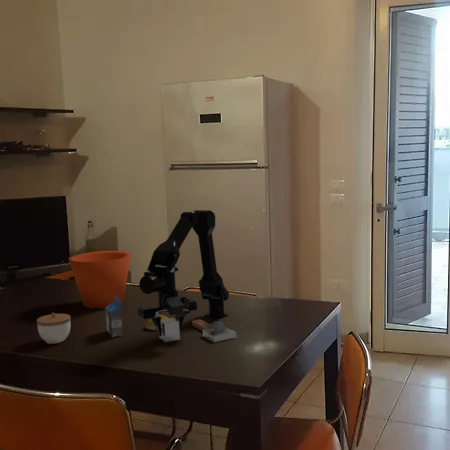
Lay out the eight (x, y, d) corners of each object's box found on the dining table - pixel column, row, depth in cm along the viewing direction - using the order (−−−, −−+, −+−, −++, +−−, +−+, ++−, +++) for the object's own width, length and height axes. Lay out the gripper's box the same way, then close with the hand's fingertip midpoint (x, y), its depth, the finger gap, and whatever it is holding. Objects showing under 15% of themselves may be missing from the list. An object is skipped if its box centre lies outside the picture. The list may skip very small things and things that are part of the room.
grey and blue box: (106, 330, 202) (103, 295, 201) (117, 329, 204) (115, 294, 202) (111, 337, 194) (109, 301, 192) (123, 335, 195) (121, 299, 194)
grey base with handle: (186, 326, 203) (185, 312, 202) (206, 322, 206) (206, 308, 206) (214, 342, 184) (213, 327, 184) (236, 338, 188) (235, 323, 187)
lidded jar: (54, 347, 186) (51, 319, 185) (31, 343, 192) (29, 315, 191) (79, 338, 195) (76, 310, 194) (56, 334, 201) (54, 307, 200)
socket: (159, 338, 191) (158, 320, 190) (173, 335, 193) (172, 317, 193) (165, 342, 187) (164, 323, 186) (179, 339, 189) (178, 321, 188)
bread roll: (143, 331, 200) (142, 319, 200) (151, 323, 209) (150, 312, 209) (166, 331, 199) (165, 320, 198) (173, 323, 208) (172, 312, 207)
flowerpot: (146, 299, 244) (143, 252, 242) (104, 314, 223) (100, 263, 221) (102, 293, 258) (99, 249, 255) (59, 307, 237) (55, 259, 235)
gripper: (148, 296, 177) (151, 346, 178) (203, 287, 185) (206, 335, 187) (135, 289, 186) (139, 337, 188) (189, 281, 195) (191, 326, 197)
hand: (169, 334), depth 190 cm, fingers open, 6 cm apart
